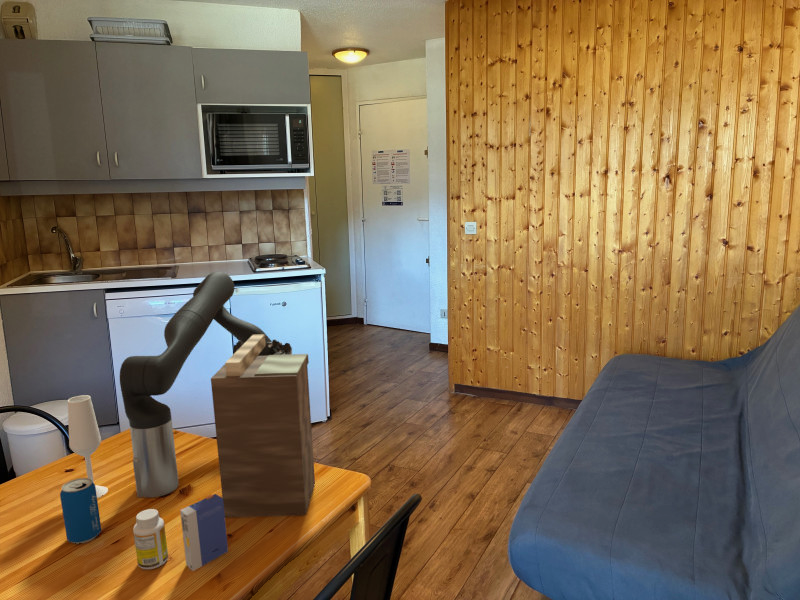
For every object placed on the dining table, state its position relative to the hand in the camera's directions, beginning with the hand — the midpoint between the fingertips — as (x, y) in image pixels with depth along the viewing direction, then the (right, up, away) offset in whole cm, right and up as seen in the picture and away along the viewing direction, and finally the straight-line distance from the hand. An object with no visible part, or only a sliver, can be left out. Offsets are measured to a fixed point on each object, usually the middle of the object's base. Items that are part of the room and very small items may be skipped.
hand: (256, 343), depth 146 cm
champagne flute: (-39, -36, -3) cm, 53 cm away
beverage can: (-31, -39, -21) cm, 54 cm away
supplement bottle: (-13, -40, -30) cm, 52 cm away
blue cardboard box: (-2, -40, -30) cm, 50 cm away
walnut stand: (+6, -35, -8) cm, 37 cm away
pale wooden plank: (0, -3, -9) cm, 9 cm away
